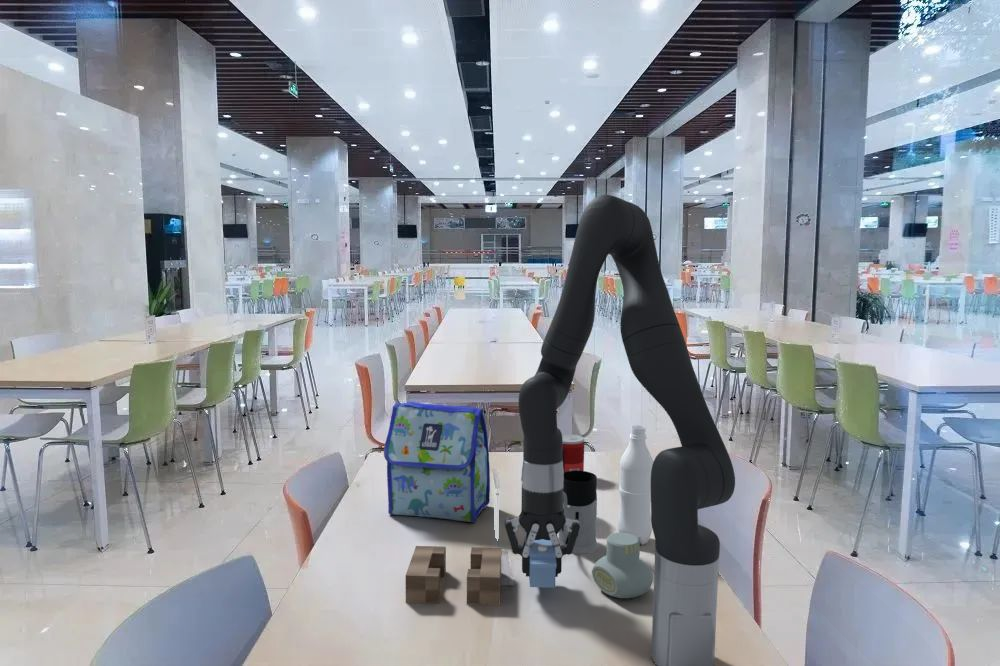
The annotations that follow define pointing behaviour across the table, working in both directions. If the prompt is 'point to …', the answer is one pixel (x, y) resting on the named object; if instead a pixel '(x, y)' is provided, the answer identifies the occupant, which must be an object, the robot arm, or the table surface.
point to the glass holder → (580, 509)
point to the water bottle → (636, 487)
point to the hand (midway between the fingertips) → (541, 574)
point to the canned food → (573, 453)
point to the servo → (542, 564)
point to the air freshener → (622, 568)
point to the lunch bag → (437, 461)
